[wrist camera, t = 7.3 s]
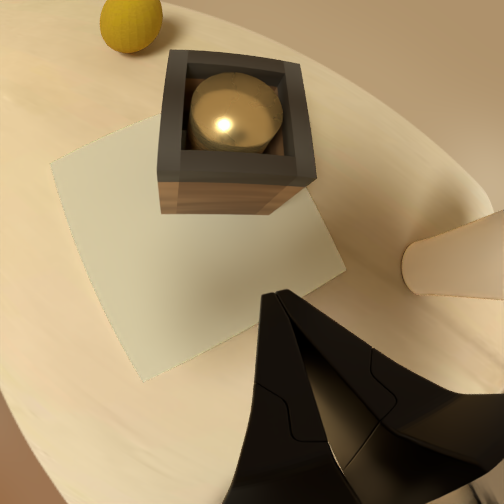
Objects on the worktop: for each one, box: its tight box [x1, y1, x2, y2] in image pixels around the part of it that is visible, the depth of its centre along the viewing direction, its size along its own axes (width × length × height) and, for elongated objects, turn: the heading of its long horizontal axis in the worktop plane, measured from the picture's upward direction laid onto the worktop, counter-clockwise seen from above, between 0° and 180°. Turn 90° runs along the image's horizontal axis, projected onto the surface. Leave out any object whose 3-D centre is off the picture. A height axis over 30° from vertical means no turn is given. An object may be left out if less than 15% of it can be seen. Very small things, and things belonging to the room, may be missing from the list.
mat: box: [50, 113, 347, 383], centre depth 22 cm, size 18×18×1 cm
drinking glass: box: [402, 210, 504, 300], centre depth 20 cm, size 7×7×15 cm
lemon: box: [100, 0, 163, 53], centre depth 18 cm, size 6×6×8 cm
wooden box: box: [157, 50, 317, 215], centre depth 19 cm, size 8×8×8 cm
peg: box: [184, 72, 283, 154], centre depth 18 cm, size 5×5×8 cm
